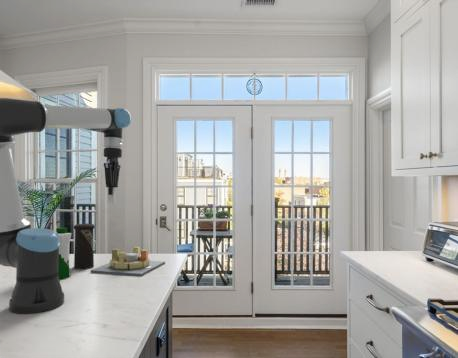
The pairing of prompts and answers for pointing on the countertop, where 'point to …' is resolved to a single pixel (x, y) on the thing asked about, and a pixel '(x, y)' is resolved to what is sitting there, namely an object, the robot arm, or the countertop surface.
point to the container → (84, 246)
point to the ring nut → (120, 262)
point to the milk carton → (63, 252)
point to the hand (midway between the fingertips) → (111, 202)
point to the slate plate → (134, 272)
